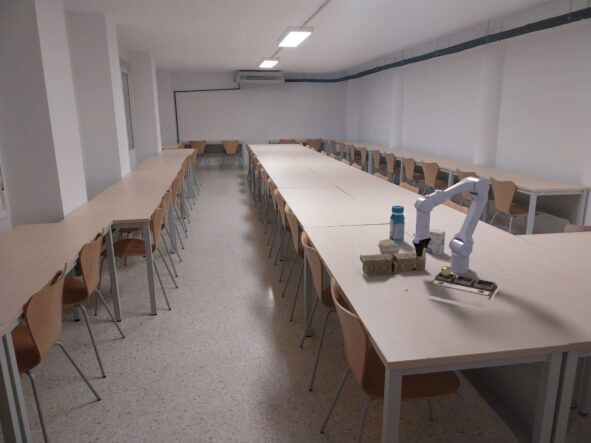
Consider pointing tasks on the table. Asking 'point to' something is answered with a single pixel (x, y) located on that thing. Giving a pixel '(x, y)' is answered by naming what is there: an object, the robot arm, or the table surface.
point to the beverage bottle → (397, 224)
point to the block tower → (391, 263)
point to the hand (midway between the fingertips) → (421, 254)
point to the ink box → (436, 241)
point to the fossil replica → (388, 247)
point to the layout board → (466, 284)
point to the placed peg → (446, 272)
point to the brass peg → (422, 254)
